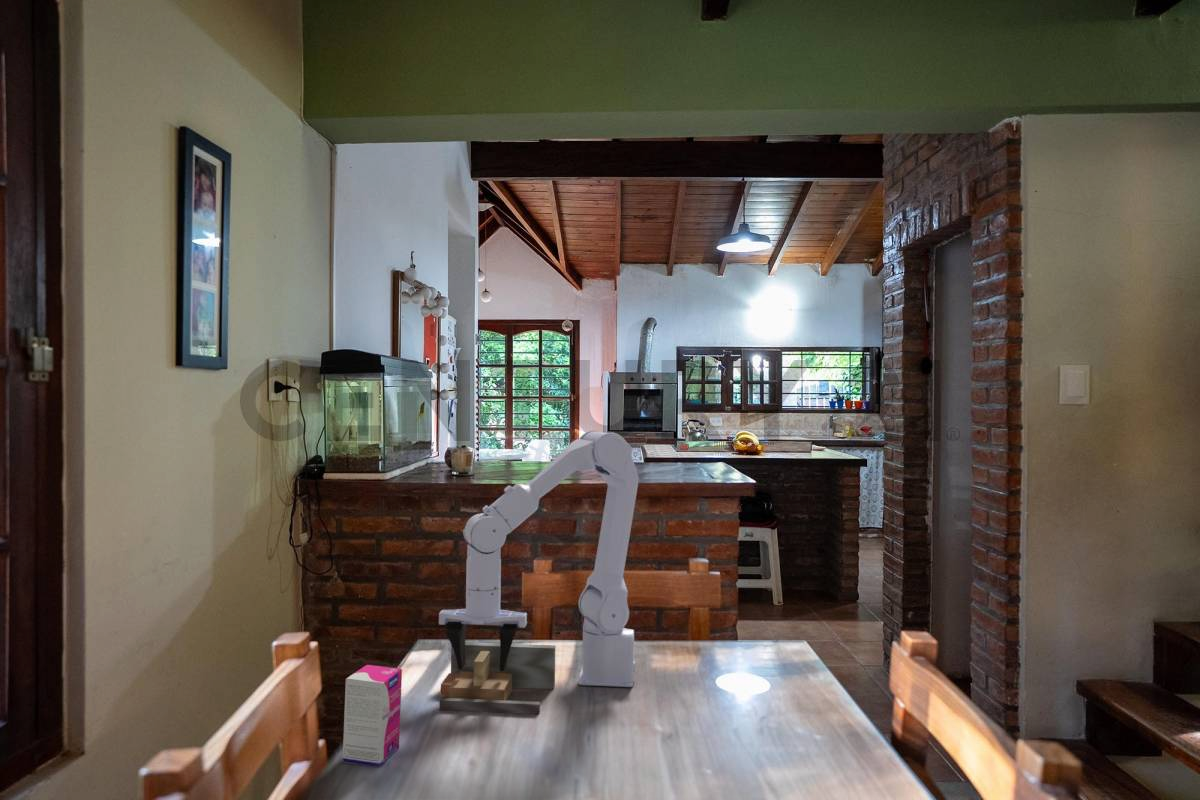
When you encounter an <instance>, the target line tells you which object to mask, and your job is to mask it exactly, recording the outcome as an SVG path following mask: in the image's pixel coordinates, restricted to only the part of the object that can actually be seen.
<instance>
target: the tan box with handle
mask: <svg viewBox="0 0 1200 800" xmlns="http://www.w3.org/2000/svg"><path fill="white" fill-rule="evenodd" d="M489 670H490V651H481V652H480V653H479V655H478V656H477V658H476V659H475V661H474V672H465V671H460V673H459V674H458V676H457V677H456V679H455V680H454V681H453V683H452V684H451V686H450V687H449V697H448V698H460V699H483V700H506V701H508V699H509V697H510V695H511V693H510V692H512V691H513V687H512V673H489ZM511 690H512V691H511ZM509 694H510V695H509Z"/></svg>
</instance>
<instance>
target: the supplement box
mask: <svg viewBox="0 0 1200 800" xmlns="http://www.w3.org/2000/svg"><path fill="white" fill-rule="evenodd" d="M402 678H403V669H402V668H398V667H389V666H380V665H372V664H366V665H365V666H363V667H362V668H360V669H358V670H357V671H355V672H354V673H352V674H350V675H349V676H348V677H347V678H345V689H344V690H345V693H344V714H343V715H344V716H343V717H344V718H343V720H344V721H343V738H342V739H343V740H342V741H343V742H342V744H343V745H342V760H341V761H342V763H345V764H352V765H358V766H361V765H362V766H367V767H373V768H374V767H375V768H376V767H377V768H378V767H379V768H380V767H381V766H382V765H383V763H385V762H386V760H388V758H390V756H392V755H393V754H394V752H396V751H397V750H399V748H400V734H401V730H400V729H401V707H402V706H401V705H402V704H401V703H402Z"/></svg>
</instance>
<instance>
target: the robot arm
mask: <svg viewBox="0 0 1200 800" xmlns="http://www.w3.org/2000/svg"><path fill="white" fill-rule="evenodd" d="M632 453H633V448H632V446H631V445H630V444H629V443H628V442H627V440H625V438H624V437H623V436H622V435H620V434H618V433H615V432H601V431H598V430H588V431H586V432H585V433H583V434H581V436H580V437H579V438H577V439H575V440H573V441H572V442H570V444H569V445H568V446H567V447H566V448H565V449H563V451H562V452H561V453H560V454H558V455H557V456H556V457H555V458H554V459H553V460H552V461H551V462H550V463H549V464H547V465H546V466H545V467H544V468H543V469H542V470H540V471H539V473H537V475H535V476H534V477H532V479H531V480H530V481H528V482H527V483H526V484H525V483H524V484H523V483H522V484H521V483H515V484H514V485H513V486H511V485H506V487H505V488H504V489H503V491H504V493H503V494H502V495H501V496H500V497H499V498H497V499H496V500H495V501H494V502H492V503H491V504H490V505H489V506H488V505H487V504H486V505H485V506H483V507H482V511H483V512H482V513H477V514H475V515H472V516H471V517H470V518H469V519H468V520H467V521H466V524H465V526H464V529H463V530H462V535H463V538H464V540H465V541H466V542H467V543H468V544H467V548H466V549H467V550H466V553H467V558H466V561H465V562H466V566H465V567H466V569H465V571H466V572H465V574H466V576H465V577H466V578H465V579H466V580H465V581H466V583H465V584H466V585H465V590H466V591H465V608H460V609H442V610H441V611H440V612H439V613H438V625H442V626H443V625H444V626H445V625H446V628H445V629H444V630H445V635H446V637H447V639H448V640H449V642H450V646H451V645H452V647H453V650H454V653H455V656H456V660H457V665H458V669H462V668H463V667H464V666H465V659H466V657H465V642H466V635H467V626H468V625H474V626H475V625H479V626H482V625H483V626H502V627H501V629H500V630H499V632H498V633H499V643H500V649H501V654H500V671H504V670H505V668H506V665H507V659H508V654H509V650H510V647H511V644H513V641H514V639H515V636H516V634H517V631H518V630H519V628H521V629H522V628H524V629H525V628H526V626H527V625H528V621H527V619H528V617H527V616H528V613H527V612H520V611H512V610H505V609H501V595H502V594H501V592H502V591H501V588H502V587H501V585H502V581H501V579H502V575H501V573H502V558H501V548H502V547H503V546H504V545H505V542H506V540H507V535H510V534H511V532H513V531H515V529H517V528H518V527H519V526H520V525H521V524H522V523H523V522H525V521H526V520H527V519H529V517H530V516H532V515H533V514H534V513H535V512H536V511H537V510H538V508H539V503H540V499H541V498H542V497H544V496H545V495H546V494H547V493H549V492H550V491H552V490H553V489H554V488H555V487H557V486H558V485H559V484H561V483H562V482H563V481H565V480H566V479H567V478H569V476H571V475H572V474H574V473H575V472H577V471H588V470H595V471H596V472H597V474H599V476H600V477H601V478H602V479H603V480H604V482H605V483H606V485H607V489H606V495H605V503H604V508H603V514H602V519H601V526H600V531H599V537H598V545H597V548H596V549H597V550H596V557H595V562H594V568H593V571H592V572H591V573H590V575H589V576H588V577H587V580H586V585H585V587H584V589H583V591H582V592H581V593H580V596H579V599H578V609H579V612H580V613H581V615H582V616H583V617H584V620H583V624H582V667H581V669H580V674H579V678H578V681H577V683H578V685H580V686H596V687H619V688H620V687H621V688H623V687H624V688H632V687H633V684H634V673H636V661H635V660H634V659H635V630H634V629H631V628H626V627H625V626H626V625H627V623H628V621H629V618H630V609H629V606H628V592H629V591H628V588H627V585H626V582H625V579H624V573H625V568H626V567H625V566H626V561H627V555H628V548H629V542H630V536H631V529H632V524H633V517H634V512H635V505H636V500H637V492H638V487H639V475H638V471H637V469H636V466H635V465H636V464H635V462H634V459H633V456H632Z"/></svg>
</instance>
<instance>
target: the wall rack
mask: <svg viewBox="0 0 1200 800" xmlns="http://www.w3.org/2000/svg"><path fill="white" fill-rule="evenodd" d="M450 647H451V648H450V673H448V674H447V675H446V677H445V678H444V679H443V680H442V682H441V683H440V699H439V710H440V711H441V710H442V711H458V710H459V711H460V712H465V711H467V712H481V713H482V712H483V713H484V712H485V713H506V714H507V713H508V714H525V715H526V714H528V715H539V714H540V712H541V702H540V701H527V700H526V701H522V700H507V701H506V700H483V699H460V698H449V687H450V686H451V684H452V683H453V681H454V680H455V679H456V677H457V676H458V674H459V673H460V671H465V672H474V661H475V659H476V658H477V656H478V655H479V653H480V652H481V651H490V670H489V673H512V688H515V687H516V689H519V688H521V689H540V690H541V689H545V690H555V685H556V645H553V644H552V645H551V644H550V645H549V644H530V643H529V644H526V643H525V644H524V643H512V644H511V647H510V650H509V654H508V659H507V665H506V668H505V670H504V671H500V654H501V649H500V642H475V641H473V642H471V641H465V657H466V659H465V666H464V667H463V668H462V669H458V665H457V660H456V656H455V653H454V650H453V647H452V645H451V644H450ZM459 711H458V712H459Z"/></svg>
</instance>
